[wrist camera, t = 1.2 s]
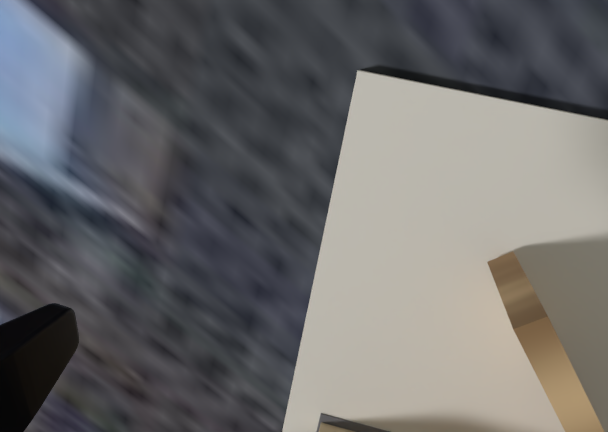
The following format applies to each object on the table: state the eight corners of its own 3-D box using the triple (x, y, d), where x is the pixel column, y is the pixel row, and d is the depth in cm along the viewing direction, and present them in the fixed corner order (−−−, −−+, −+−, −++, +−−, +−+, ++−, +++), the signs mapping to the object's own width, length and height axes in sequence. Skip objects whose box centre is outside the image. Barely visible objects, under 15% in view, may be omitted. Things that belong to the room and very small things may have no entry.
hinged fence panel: (634, 498, 22) (697, 621, 17) (609, 505, 22) (664, 628, 18) (513, 250, 20) (548, 316, 15) (486, 262, 20) (513, 329, 15)
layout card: (780, 613, 24) (791, 628, 23) (275, 470, 26) (271, 480, 25) (1059, 210, 17) (1084, 216, 17) (358, 69, 20) (357, 70, 19)
